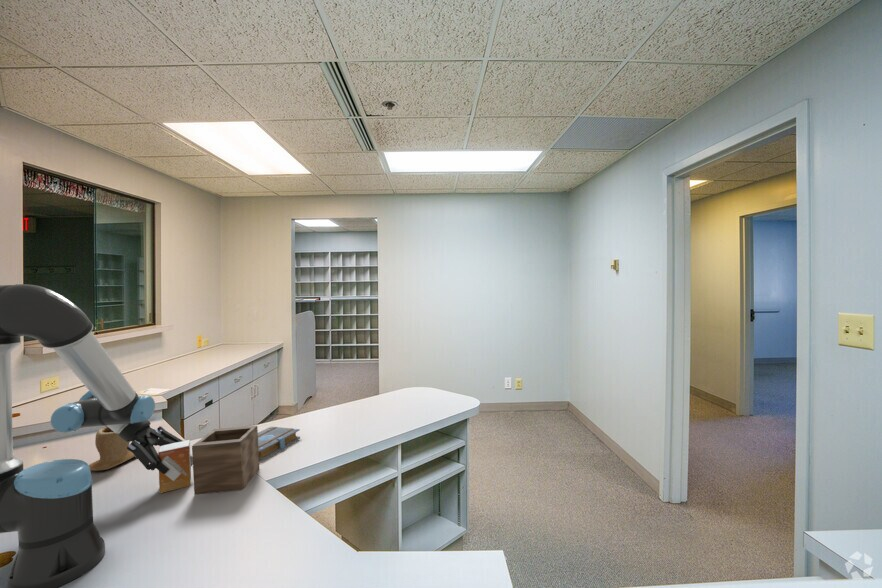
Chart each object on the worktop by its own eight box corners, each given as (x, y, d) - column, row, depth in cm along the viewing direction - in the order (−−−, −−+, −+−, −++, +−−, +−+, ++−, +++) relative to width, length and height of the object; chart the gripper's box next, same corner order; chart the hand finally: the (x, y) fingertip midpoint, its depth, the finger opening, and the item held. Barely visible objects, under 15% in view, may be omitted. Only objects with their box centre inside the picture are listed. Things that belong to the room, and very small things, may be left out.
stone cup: (109, 474, 128) (106, 431, 128) (81, 472, 130) (79, 430, 130) (150, 455, 143) (148, 416, 143) (125, 453, 145) (123, 416, 145)
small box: (159, 494, 113) (157, 452, 113) (161, 485, 118) (159, 445, 118) (191, 485, 118) (189, 445, 117) (191, 477, 123) (189, 439, 123)
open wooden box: (242, 489, 114) (240, 441, 114) (194, 494, 112) (191, 445, 112) (259, 468, 128) (257, 425, 128) (216, 472, 126) (214, 429, 126)
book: (269, 435, 159) (269, 424, 159) (301, 439, 154) (300, 427, 154) (227, 457, 139) (226, 444, 139) (262, 462, 134) (261, 448, 134)
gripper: (144, 422, 127) (196, 463, 129) (93, 448, 105) (155, 497, 107) (160, 405, 127) (211, 447, 129) (112, 428, 106) (174, 477, 108)
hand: (186, 469), depth 118 cm, fingers closed on small box, 9 cm apart
